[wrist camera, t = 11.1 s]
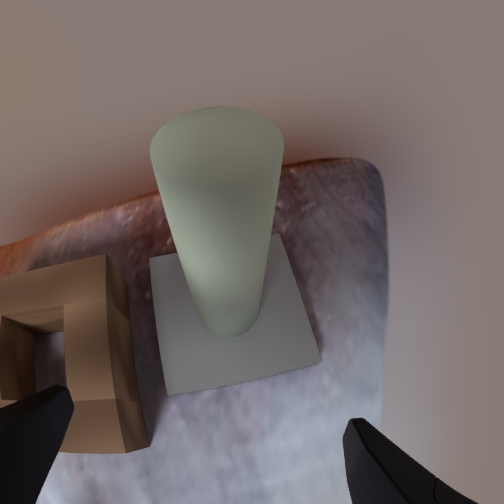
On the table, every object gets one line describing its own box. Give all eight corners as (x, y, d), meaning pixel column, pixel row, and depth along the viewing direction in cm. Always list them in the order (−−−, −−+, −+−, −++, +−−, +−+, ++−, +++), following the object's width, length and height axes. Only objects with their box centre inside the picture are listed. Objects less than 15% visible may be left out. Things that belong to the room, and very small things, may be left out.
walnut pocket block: (149, 446, 14) (125, 453, 11) (16, 442, 12) (-20, 439, 9) (127, 283, 19) (105, 253, 16) (11, 304, 18) (-19, 282, 14)
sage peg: (254, 340, 17) (280, 195, 7) (193, 332, 17) (129, 181, 7) (261, 285, 19) (286, 112, 8) (204, 277, 19) (173, 104, 9)
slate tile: (317, 363, 17) (321, 360, 16) (171, 396, 16) (167, 394, 15) (277, 241, 22) (279, 233, 21) (152, 265, 20) (149, 258, 19)
